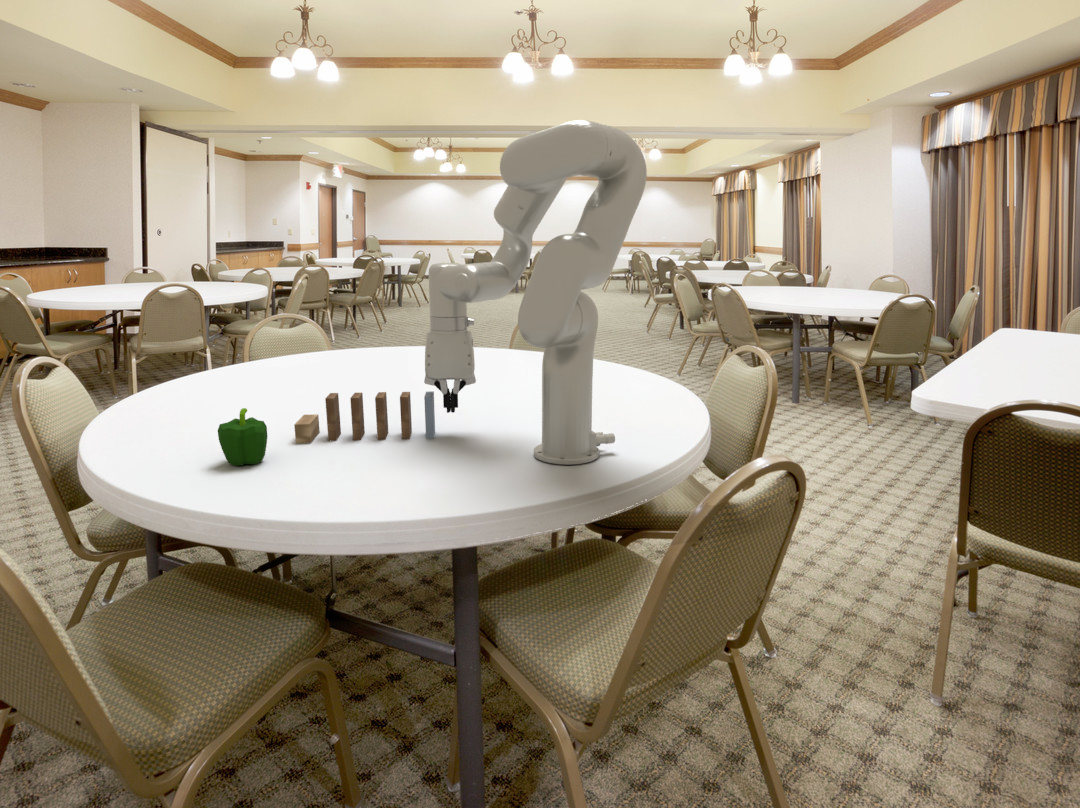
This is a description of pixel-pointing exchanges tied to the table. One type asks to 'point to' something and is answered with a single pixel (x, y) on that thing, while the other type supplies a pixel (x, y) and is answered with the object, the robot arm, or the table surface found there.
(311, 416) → the oak end block
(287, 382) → the table surface
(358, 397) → the walnut tile
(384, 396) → the walnut tile
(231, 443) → the bell pepper
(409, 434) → the walnut tile
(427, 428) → the blue grey rectangular block
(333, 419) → the walnut tile
